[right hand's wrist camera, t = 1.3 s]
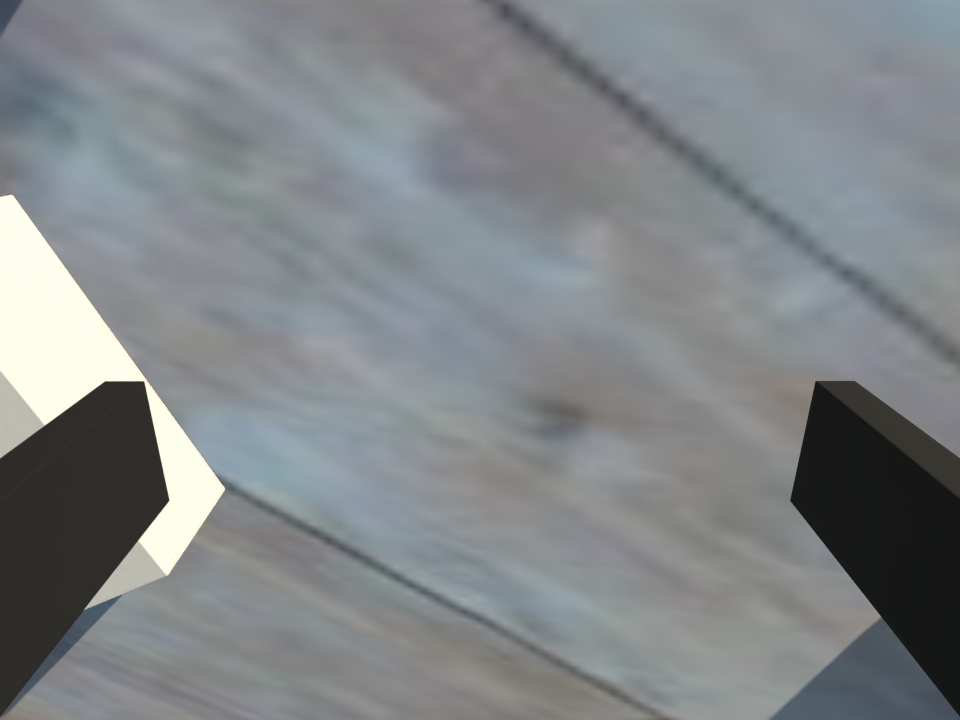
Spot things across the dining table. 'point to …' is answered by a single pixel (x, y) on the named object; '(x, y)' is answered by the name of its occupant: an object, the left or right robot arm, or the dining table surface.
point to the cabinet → (84, 389)
